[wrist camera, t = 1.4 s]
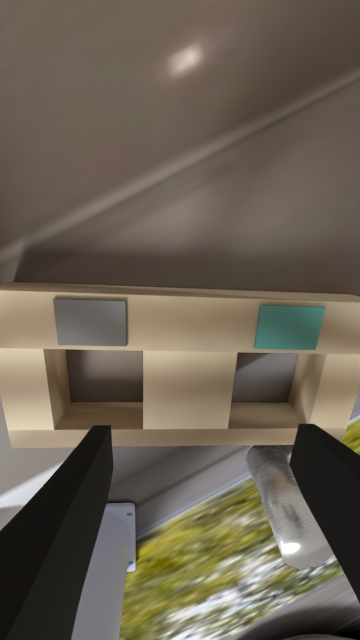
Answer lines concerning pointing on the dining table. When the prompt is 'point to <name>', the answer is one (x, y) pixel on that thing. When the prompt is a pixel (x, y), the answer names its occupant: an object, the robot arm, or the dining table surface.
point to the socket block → (175, 362)
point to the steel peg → (287, 508)
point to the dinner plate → (317, 637)
